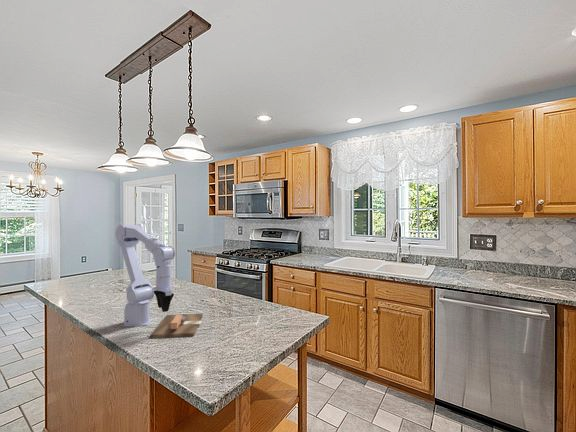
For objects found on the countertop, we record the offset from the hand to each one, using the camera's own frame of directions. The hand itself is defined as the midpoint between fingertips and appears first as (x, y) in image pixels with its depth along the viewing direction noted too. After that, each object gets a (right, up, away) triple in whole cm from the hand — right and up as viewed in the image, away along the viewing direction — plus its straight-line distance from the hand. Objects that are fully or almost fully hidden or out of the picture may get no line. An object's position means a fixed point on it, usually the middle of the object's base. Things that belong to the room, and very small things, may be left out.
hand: (163, 309), depth 116 cm
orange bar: (+5, -6, +1) cm, 8 cm away
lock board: (+5, -9, +4) cm, 11 cm away
